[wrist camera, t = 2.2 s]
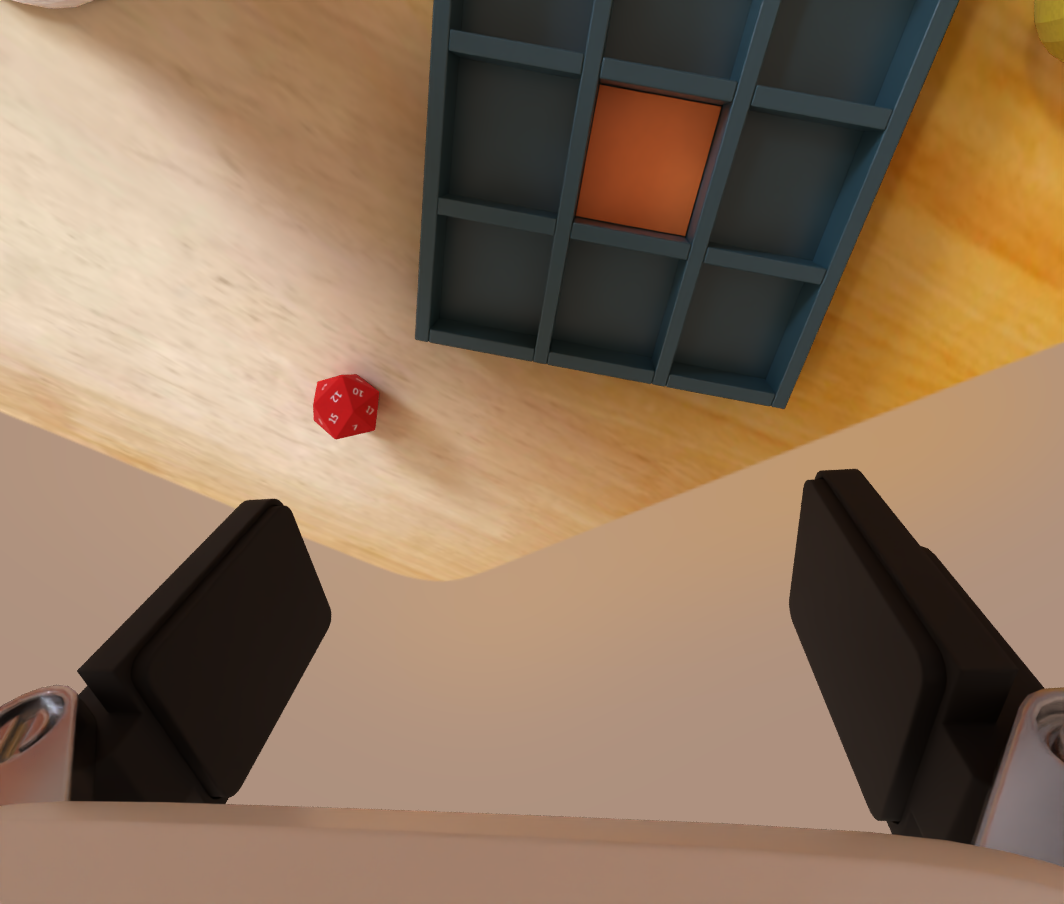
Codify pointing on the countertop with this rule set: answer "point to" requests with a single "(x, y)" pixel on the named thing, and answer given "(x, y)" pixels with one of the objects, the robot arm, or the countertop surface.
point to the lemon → (1050, 25)
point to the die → (345, 406)
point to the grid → (658, 178)
